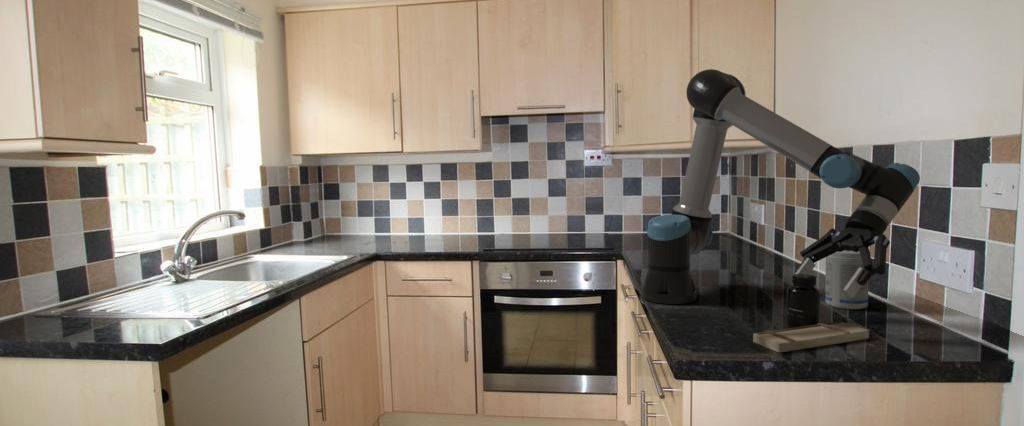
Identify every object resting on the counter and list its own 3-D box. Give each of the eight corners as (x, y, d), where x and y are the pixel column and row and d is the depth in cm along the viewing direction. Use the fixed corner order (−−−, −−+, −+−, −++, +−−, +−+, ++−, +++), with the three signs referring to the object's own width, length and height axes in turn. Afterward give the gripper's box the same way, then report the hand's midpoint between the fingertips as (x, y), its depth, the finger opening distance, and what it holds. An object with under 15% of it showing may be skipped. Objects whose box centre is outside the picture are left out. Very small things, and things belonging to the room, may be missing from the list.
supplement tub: (874, 306, 136) (876, 250, 135) (857, 312, 131) (859, 254, 129) (834, 299, 144) (836, 246, 143) (817, 304, 139) (819, 250, 138)
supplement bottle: (788, 329, 119) (789, 277, 117) (783, 321, 125) (784, 272, 124) (822, 332, 116) (823, 279, 115) (816, 323, 123) (817, 273, 122)
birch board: (753, 341, 111) (753, 332, 111) (839, 329, 118) (839, 320, 118) (778, 352, 104) (779, 342, 104) (868, 338, 111) (869, 329, 111)
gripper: (934, 235, 112) (881, 311, 109) (832, 224, 136) (785, 286, 133) (918, 212, 110) (863, 288, 107) (816, 205, 134) (769, 267, 131)
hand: (820, 287), depth 120 cm, fingers open, 13 cm apart
